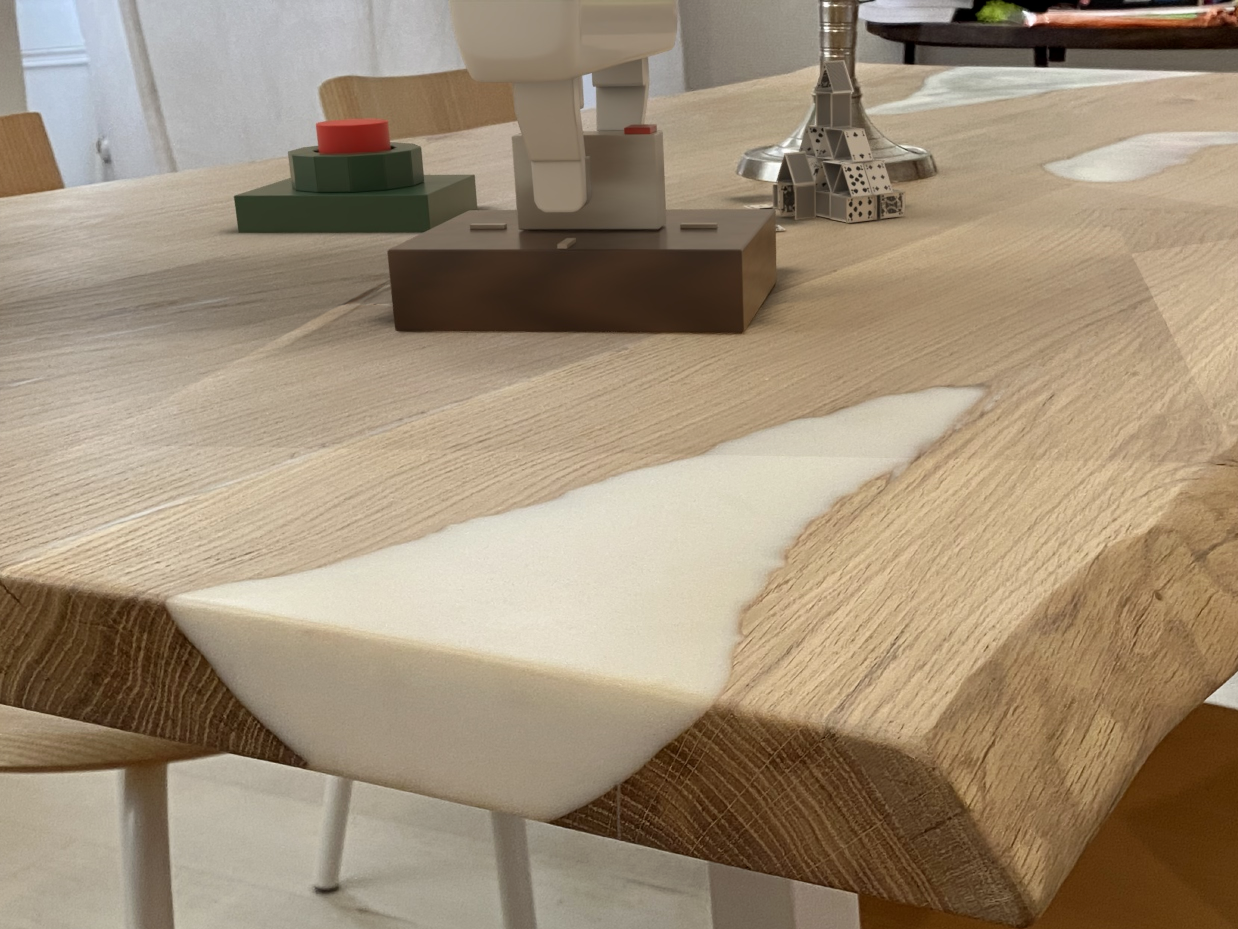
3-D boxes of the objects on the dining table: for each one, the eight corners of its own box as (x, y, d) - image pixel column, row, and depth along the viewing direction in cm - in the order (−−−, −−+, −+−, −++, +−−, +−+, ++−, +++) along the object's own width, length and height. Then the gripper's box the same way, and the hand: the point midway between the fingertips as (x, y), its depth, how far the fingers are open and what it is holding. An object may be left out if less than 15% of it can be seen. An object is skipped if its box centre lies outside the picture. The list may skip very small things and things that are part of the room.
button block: (239, 240, 81) (228, 158, 80) (301, 216, 88) (292, 141, 87) (431, 239, 80) (423, 156, 78) (478, 215, 87) (472, 139, 86)
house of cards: (677, 213, 86) (671, 63, 84) (813, 198, 91) (812, 55, 88) (766, 233, 79) (763, 70, 76) (909, 216, 83) (911, 61, 81)
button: (308, 161, 81) (304, 125, 81) (335, 153, 85) (331, 119, 84) (377, 160, 81) (373, 124, 80) (401, 152, 84) (397, 118, 84)
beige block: (517, 230, 62) (510, 129, 61) (528, 223, 63) (521, 125, 62) (658, 229, 61) (654, 127, 60) (666, 223, 63) (662, 123, 61)
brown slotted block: (394, 331, 59) (385, 245, 58) (473, 281, 69) (467, 206, 68) (743, 333, 58) (741, 244, 57) (777, 282, 67) (775, 204, 66)
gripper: (555, -181, 67) (577, 161, 72) (386, -236, 48) (431, 234, 53) (705, -187, 66) (717, 159, 71) (593, -246, 47) (620, 232, 52)
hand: (594, 192), depth 62 cm, fingers open, 8 cm apart
